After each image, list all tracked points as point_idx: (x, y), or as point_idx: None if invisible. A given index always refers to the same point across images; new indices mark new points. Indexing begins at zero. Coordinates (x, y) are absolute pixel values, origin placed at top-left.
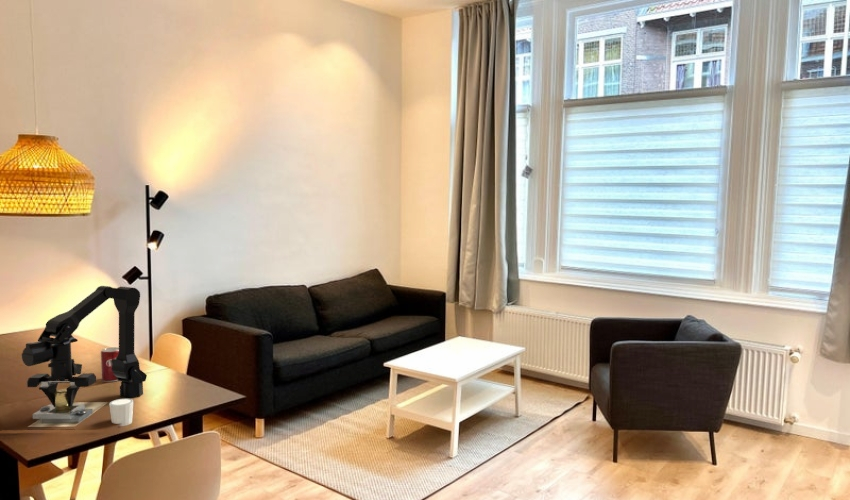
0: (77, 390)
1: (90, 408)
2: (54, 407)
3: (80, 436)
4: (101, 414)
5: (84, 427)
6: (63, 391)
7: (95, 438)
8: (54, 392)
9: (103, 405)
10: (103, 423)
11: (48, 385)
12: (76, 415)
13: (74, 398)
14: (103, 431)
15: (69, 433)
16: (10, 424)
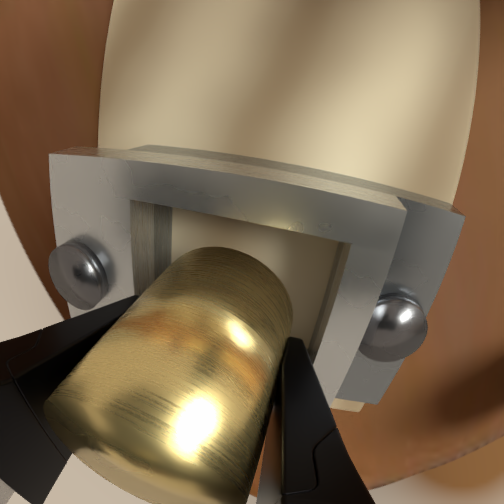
0: (362, 502)
1: (396, 55)
2: (122, 246)
3: (389, 450)
4: (489, 170)
5: (404, 381)
6: (156, 485)
7: (436, 461)
8: (77, 456)
9: (476, 16)
10: (493, 345)
11: (4, 500)
12: (355, 354)
13: (323, 403)
14: (472, 423)
15: (341, 425)
16: (24, 238)
